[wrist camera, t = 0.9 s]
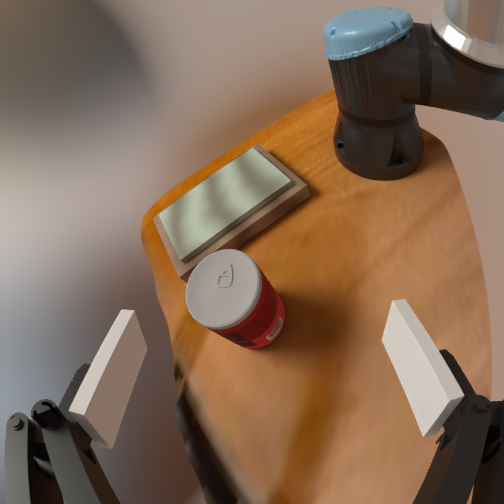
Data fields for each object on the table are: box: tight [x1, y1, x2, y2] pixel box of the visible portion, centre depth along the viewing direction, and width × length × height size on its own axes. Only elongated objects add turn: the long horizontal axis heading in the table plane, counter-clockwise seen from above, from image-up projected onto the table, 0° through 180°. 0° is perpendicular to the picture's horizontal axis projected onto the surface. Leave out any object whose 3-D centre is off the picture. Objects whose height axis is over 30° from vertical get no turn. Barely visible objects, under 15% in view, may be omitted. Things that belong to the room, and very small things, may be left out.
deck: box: [153, 144, 310, 283], centre depth 45 cm, size 22×14×4 cm, turn 121°
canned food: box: [186, 249, 285, 349], centre depth 32 cm, size 8×8×11 cm
